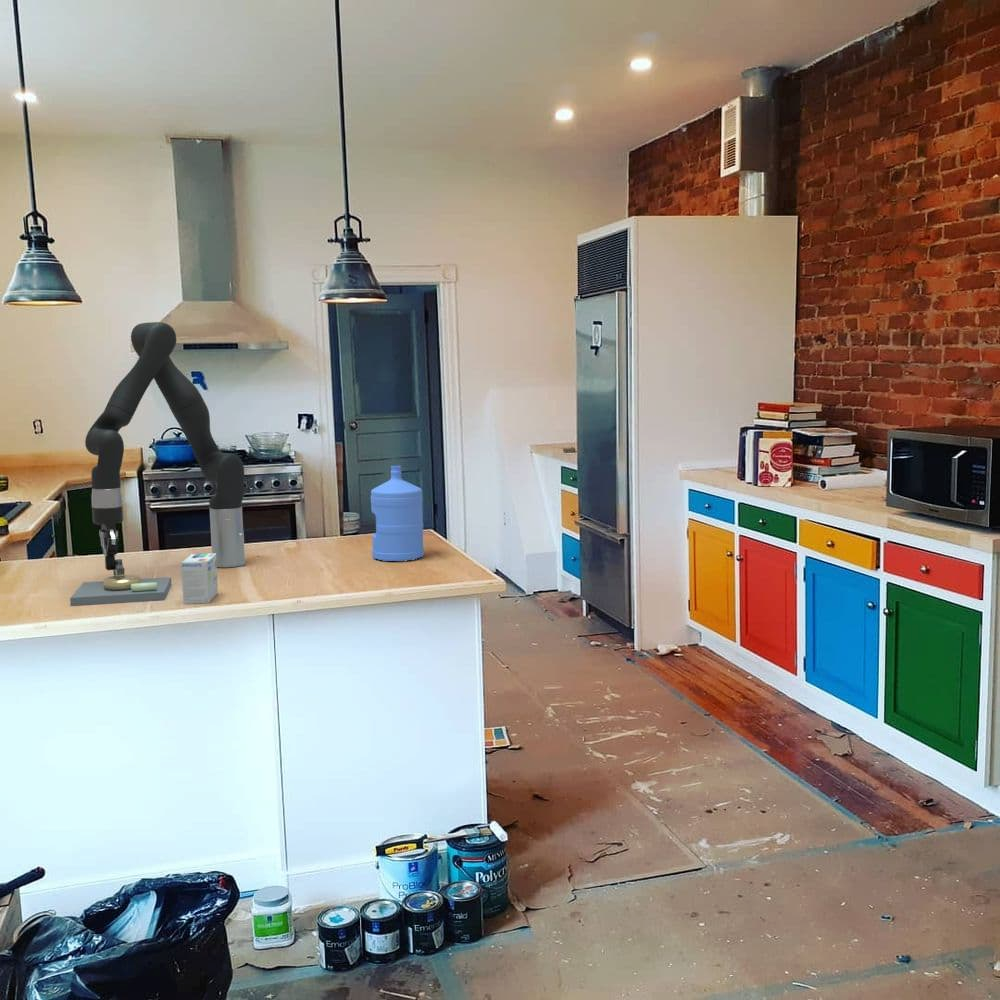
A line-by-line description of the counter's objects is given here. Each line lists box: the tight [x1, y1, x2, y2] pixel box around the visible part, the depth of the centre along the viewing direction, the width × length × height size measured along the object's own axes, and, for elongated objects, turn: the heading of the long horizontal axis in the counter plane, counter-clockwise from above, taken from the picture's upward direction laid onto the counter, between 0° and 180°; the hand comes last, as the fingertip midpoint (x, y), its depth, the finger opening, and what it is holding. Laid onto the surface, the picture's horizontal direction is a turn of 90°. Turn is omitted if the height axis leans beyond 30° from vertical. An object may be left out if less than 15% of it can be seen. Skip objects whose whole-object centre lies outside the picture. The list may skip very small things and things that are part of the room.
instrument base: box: [69, 576, 172, 607], centre depth 250 cm, size 22×18×4 cm
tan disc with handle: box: [103, 558, 142, 590], centre depth 253 cm, size 18×9×5 cm, turn 26°
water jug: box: [370, 465, 425, 562], centre depth 293 cm, size 16×16×28 cm
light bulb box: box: [180, 552, 219, 605], centre depth 244 cm, size 11×7×11 cm, turn 5°
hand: (110, 569), depth 257 cm, fingers closed
